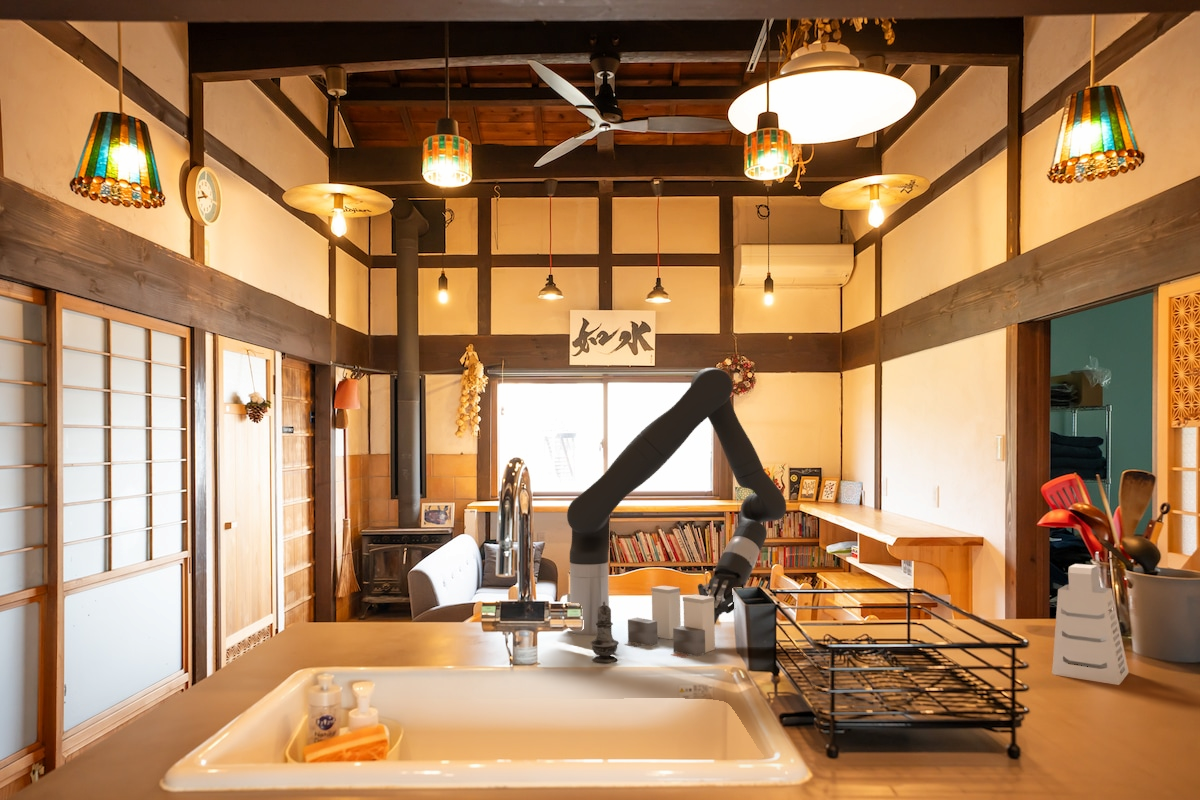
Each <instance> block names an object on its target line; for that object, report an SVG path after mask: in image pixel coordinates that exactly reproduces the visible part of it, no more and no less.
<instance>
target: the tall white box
mask: <svg viewBox="0 0 1200 800" xmlns="http://www.w3.org/2000/svg"><path fill="white" fill-rule="evenodd" d="M682 601H683V626H686V627H691V628H696V629H702V630H705V653H707V652H708V653H709V652H711V651H714V650H716V636H715V635H716V634H715V631H716V630H715V627H716V626H715V625H716V624H715V625H714V601H715V597H710V596H709V595H708V596H703V595H699V594H697V593H695V594H690V595H684V596H682Z"/></svg>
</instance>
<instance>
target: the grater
mask: <svg viewBox="0 0 1200 800" xmlns="http://www.w3.org/2000/svg"><path fill="white" fill-rule="evenodd" d="M1067 573H1068V575H1067V576H1068V584H1065V585H1064V586H1061V587H1059V588H1058V589H1057V601H1056V612H1055V613H1056V615H1055V629H1054V641H1053V642H1054V643H1053V653H1052V654H1053V659H1052V671H1051V674H1052V675H1054V676H1060V677H1067V678H1073V679H1078V680H1085V681H1086V680H1087V681H1091V682H1097V683H1106V684H1111V685H1118V686H1119V685H1120V684H1121V683H1122V682H1123V681H1124V679H1125V678H1126V677H1127V675H1129V673H1130V672H1129V667H1128V664H1127V663H1128V662H1127V656H1126V652H1125V648H1124V647H1125V646H1124V643H1123V639H1122V633H1121V629H1120V624H1119V619H1118V615H1117V609H1116V605H1115V600H1114V595H1113V590H1112V588H1111V587H1110V588H1109V587H1103V586H1102V587H1101V583H1100V570H1099V566H1098V564H1097V565H1095V564H1083V563H1074V564H1072V565H1070V566H1068V572H1067ZM1068 663H1071V664H1068ZM1074 664H1078V665H1074ZM1081 665H1082V666H1081ZM1087 666H1088V667H1087Z"/></svg>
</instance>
